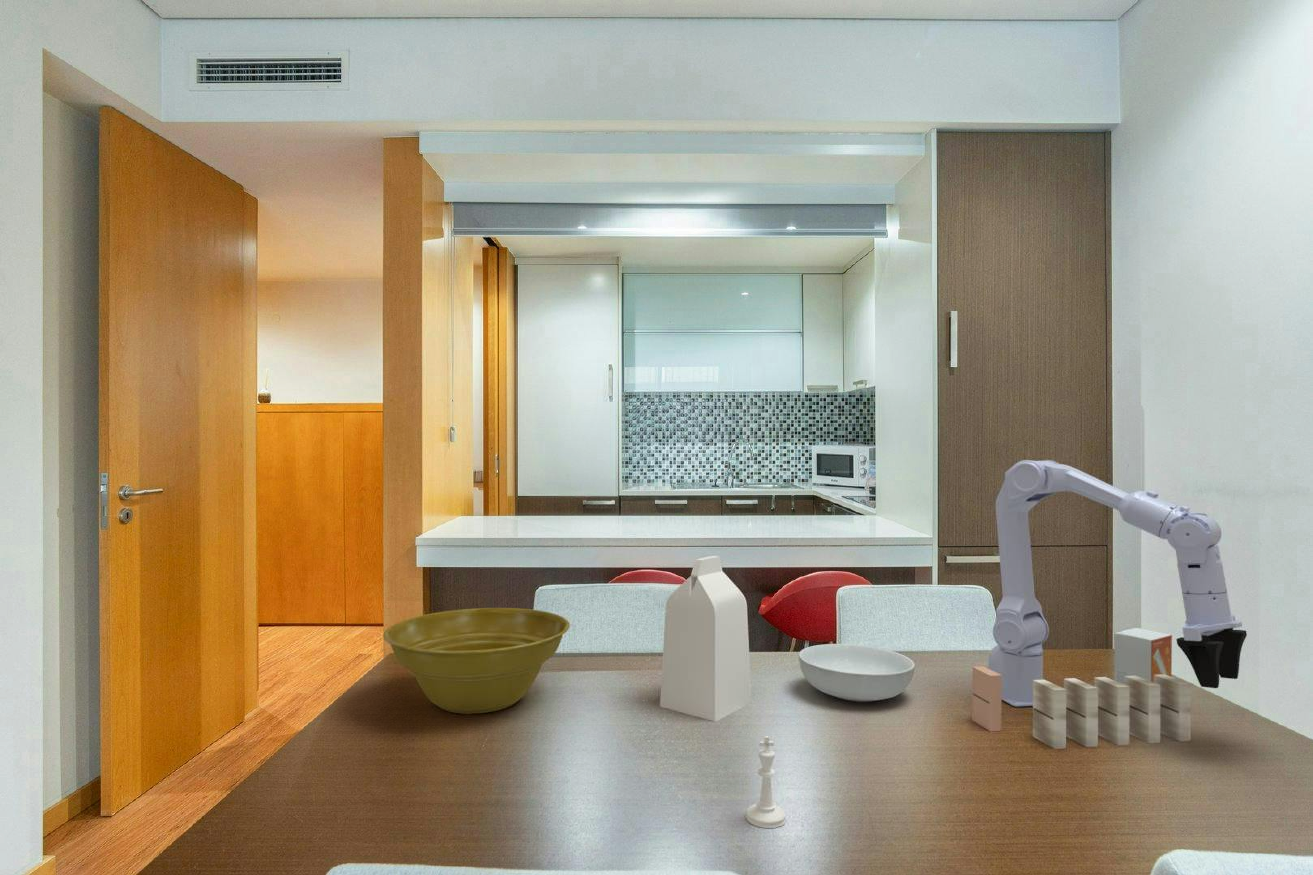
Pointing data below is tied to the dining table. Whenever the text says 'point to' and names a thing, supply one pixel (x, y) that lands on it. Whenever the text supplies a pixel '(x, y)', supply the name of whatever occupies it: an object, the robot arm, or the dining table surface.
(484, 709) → the planter bowl
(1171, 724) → the domino
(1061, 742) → the domino
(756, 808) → the chess piece
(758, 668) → the dining table surface
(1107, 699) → the domino
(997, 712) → the head domino
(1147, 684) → the domino
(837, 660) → the serving bowl
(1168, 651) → the small box
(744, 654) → the milk
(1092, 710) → the domino
